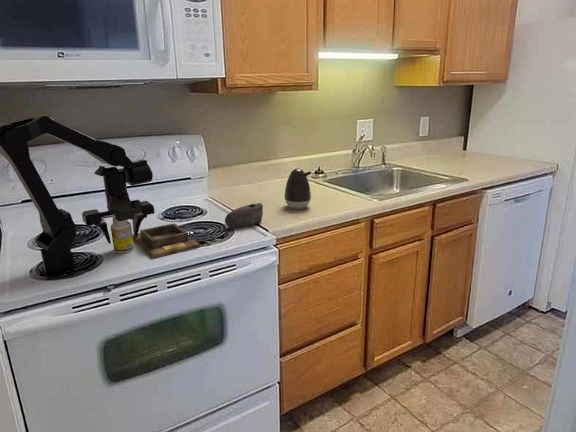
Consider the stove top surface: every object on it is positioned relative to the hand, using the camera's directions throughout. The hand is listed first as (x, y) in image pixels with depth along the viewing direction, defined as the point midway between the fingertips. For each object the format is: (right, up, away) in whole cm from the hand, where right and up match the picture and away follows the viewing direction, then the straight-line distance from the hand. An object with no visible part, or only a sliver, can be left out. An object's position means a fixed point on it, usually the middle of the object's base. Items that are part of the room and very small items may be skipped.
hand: (122, 240), depth 126 cm
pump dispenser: (+52, +10, +41) cm, 67 cm away
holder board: (+10, -1, +7) cm, 12 cm away
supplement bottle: (0, -3, +1) cm, 3 cm away
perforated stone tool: (+34, +4, +22) cm, 40 cm away
